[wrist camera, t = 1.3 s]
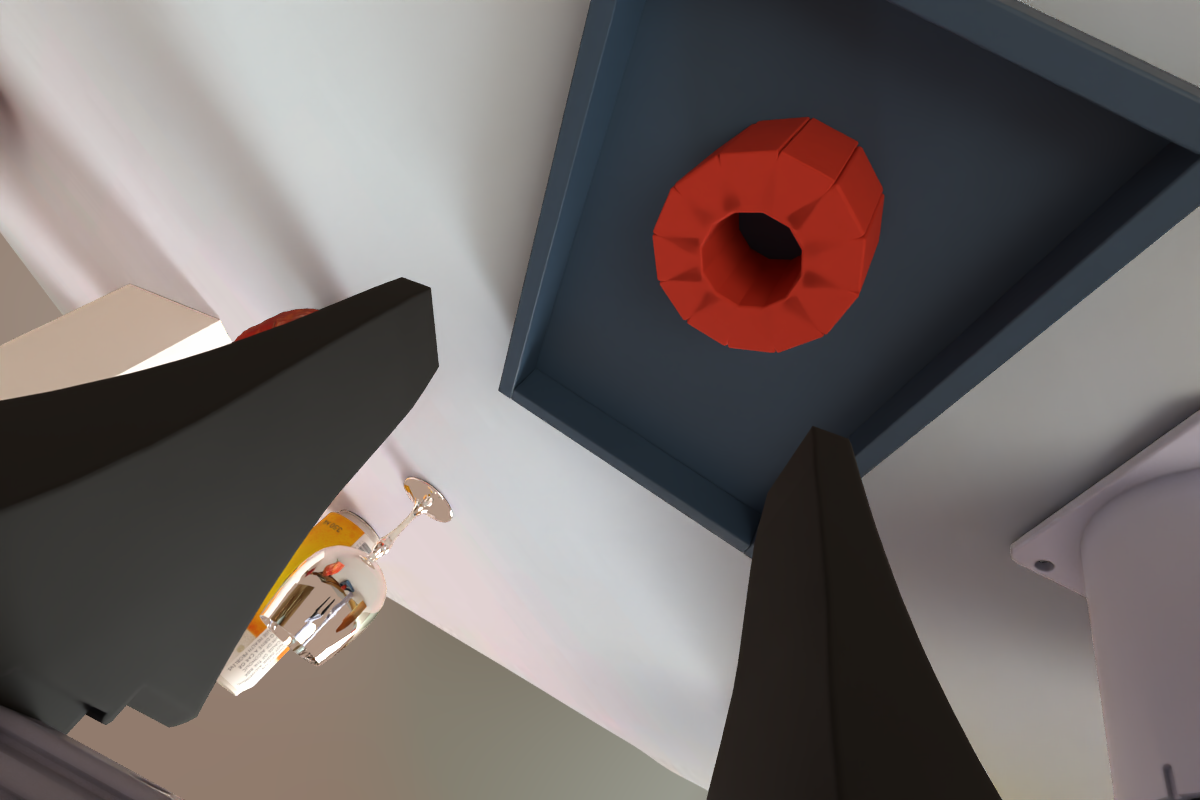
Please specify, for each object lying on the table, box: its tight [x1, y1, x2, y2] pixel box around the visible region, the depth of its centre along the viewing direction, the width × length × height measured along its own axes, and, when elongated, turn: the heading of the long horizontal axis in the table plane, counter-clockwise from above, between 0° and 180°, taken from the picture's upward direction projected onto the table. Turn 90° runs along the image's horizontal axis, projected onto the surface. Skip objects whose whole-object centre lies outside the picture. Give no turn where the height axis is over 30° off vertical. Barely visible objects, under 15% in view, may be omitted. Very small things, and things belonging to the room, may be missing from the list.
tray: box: [499, 0, 1200, 559], centre depth 18 cm, size 13×18×2 cm
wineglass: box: [260, 477, 452, 667], centre depth 36 cm, size 6×6×12 cm
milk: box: [0, 284, 232, 400], centre depth 37 cm, size 12×12×26 cm
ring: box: [652, 117, 884, 353], centre depth 15 cm, size 5×5×3 cm
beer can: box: [216, 510, 379, 696], centre depth 47 cm, size 6×6×15 cm
